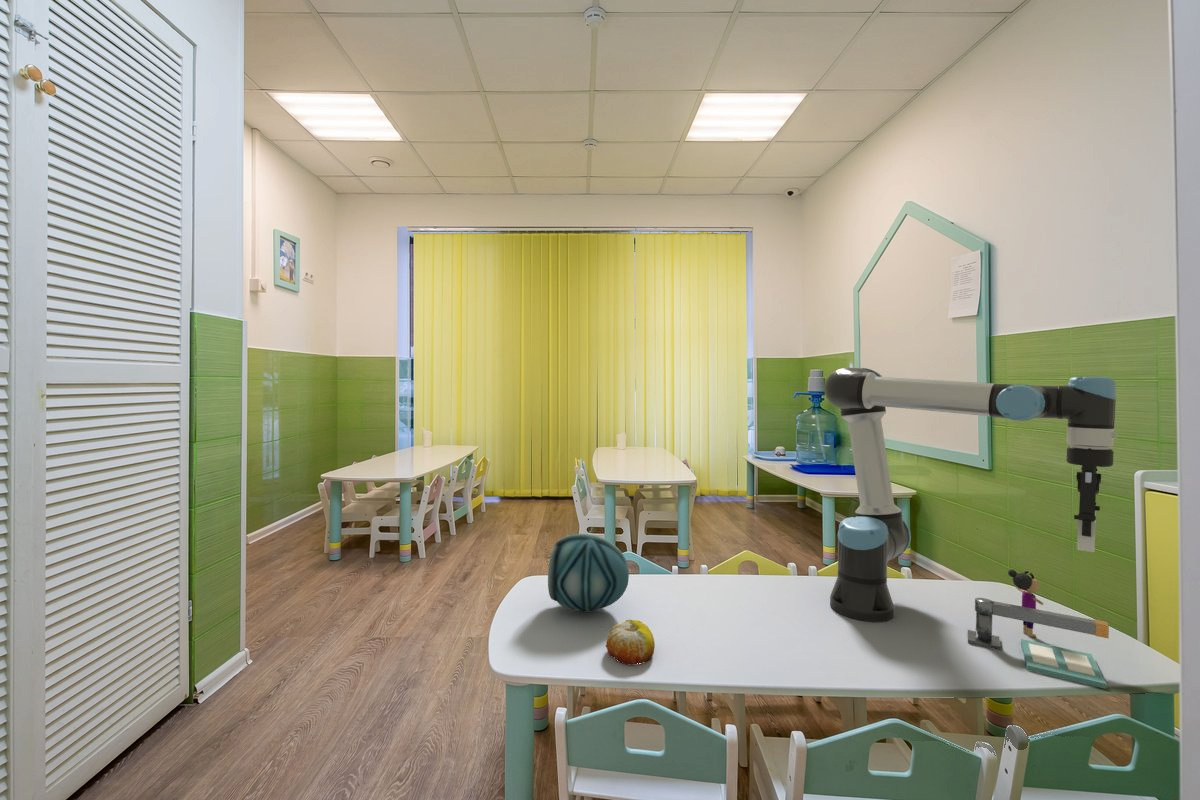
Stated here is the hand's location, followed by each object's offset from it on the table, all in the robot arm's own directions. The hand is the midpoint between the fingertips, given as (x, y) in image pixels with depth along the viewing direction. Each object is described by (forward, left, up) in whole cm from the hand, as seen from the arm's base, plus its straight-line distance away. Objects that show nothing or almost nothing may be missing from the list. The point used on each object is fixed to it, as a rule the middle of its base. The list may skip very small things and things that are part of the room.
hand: (1086, 544), depth 116 cm
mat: (-5, -10, -24) cm, 26 cm away
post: (-18, -7, -24) cm, 31 cm away
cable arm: (-9, -7, -17) cm, 20 cm away
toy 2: (-10, +3, -24) cm, 27 cm away
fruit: (-82, -59, -25) cm, 104 cm away
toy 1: (-102, -46, -24) cm, 114 cm away
